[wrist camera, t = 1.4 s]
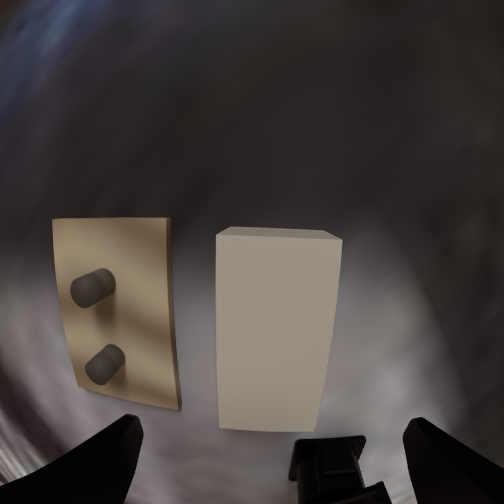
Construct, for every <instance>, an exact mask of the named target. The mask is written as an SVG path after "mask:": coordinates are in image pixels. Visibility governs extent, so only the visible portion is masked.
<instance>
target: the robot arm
mask: <svg viewBox="0 0 504 504" xmlns="http://www.w3.org/2000/svg"><path fill="white" fill-rule="evenodd" d="M143 436H144V433H143V429H142V426H141V422H140V419H139V417H138V416H135V415H131V414H125V415H124V416H122V417H121V418H119V419H118V420H116V421H115V422H113V423H112V424H110V425H109V426H107V427H106V428H104V429H103V430H101V431H100V432H98V433H97V434H95V435H94V436H92V437H91V438H89V439H88V440H86V441H85V442H83V443H81V444H80V445H78V446H77V447H75V448H74V449H72V450H70V451H69V452H67V453H66V454H64V455H62V456H61V457H59V458H57V459H56V460H54V461H53V462H52V463H49V464H47V465H46V466H44V467H42V468H40V469H38V470H37V471H35V472H33V473H31V474H28V475H26V476H24V477H22V478H19V479H17V480H14V481H12V482H9V483H6V484H4V485H1V486H0V504H124V501H125V498H126V496H127V493H128V490H129V487H130V485H131V482H132V479H133V477H134V474H135V470H136V466H137V462H138V457H139V453H140V449H141V445H142V441H143ZM360 440H361V441H360ZM365 443H366V438H365V436H363V435H361V436H351V437H339V438H323V439H300V440H297V441H296V443H295V447H294V452H293V457H292V462H291V467H290V472H289V480H290V481H297V489H298V504H392V502H391V500H390V497H389V495H388V493H387V490H386V488H385V485H384V483H383V481H381V482H378V483H376V484H375V485H372V486H369V487H366V488H365V484H364V481H363V477H362V474H361V470H360V467H359V463H358V460H359V458H360V455H361V453H362V450H363V448H364V445H365ZM300 444H301V445H300ZM403 444H404V449H405V454H406V460H407V465H408V471H409V475H410V479H411V482H412V485H413V489H414V492H415V496H416V499H417V503H418V504H504V469H503V468H502V467H500V466H498V465H496V464H495V463H493V462H491V461H489V460H488V459H486V458H485V457H483V456H482V455H480V454H478V453H477V452H475V451H474V450H472V449H470V448H469V447H467V446H466V445H464V444H463V443H461V442H460V441H458V440H456V439H455V438H453V437H452V436H450V435H449V434H447V433H446V432H444V431H443V430H441V429H440V428H438V427H437V426H435V425H434V424H432V423H431V422H429V421H428V420H426V419H425V418H423V417H418V418H414V419H412V420H410V422H409V424H408V426H407V428H406V430H405V432H404V434H403Z"/></svg>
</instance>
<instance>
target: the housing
mask: <svg viewBox="0 0 504 504" xmlns="http://www.w3.org/2000/svg"><path fill="white" fill-rule="evenodd" d="M341 252H342V240H341V239H339V238H338V237H336V236H334V235H332V234H330V233H328V232H326V231H322V230H301V229H278V228H252V227H229V228H227V229H226V230H224V231H222V232H220V233H218V234H217V235H216V351H217V388H218V414H219V428H225V429H236V430H250V431H271V432H314V431H315V427H316V423H317V418H318V414H319V409H320V404H321V399H322V394H323V389H324V383H325V378H326V372H327V366H328V360H329V354H330V348H331V341H332V334H333V327H334V319H335V311H336V303H337V294H338V285H339V275H340V264H341Z"/></svg>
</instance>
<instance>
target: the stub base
mask: <svg viewBox="0 0 504 504" xmlns="http://www.w3.org/2000/svg"><path fill="white" fill-rule="evenodd" d="M53 244H54V259H55V270H56V279H57V287H58V295H59V302H60V308H61V314H62V320H63V325H64V330H65V335H66V340H67V344H68V349H69V353H70V357H71V361H72V365H73V369H74V373H75V376H76V380H77V383H78V386H79V387H82V388H85V389H88V390H92V391H95V392H98V393H102V394H106V395H109V396H113V397H117V398H121V399H125V400H129V401H133V402H138V403H142V404H147V405H152V406H157V407H162V408H168V409H174V410H179V408H180V406H181V404H182V401H181V393H180V384H179V375H178V364H177V353H176V341H175V327H174V311H173V290H172V255H171V218H64V219H53Z"/></svg>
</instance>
